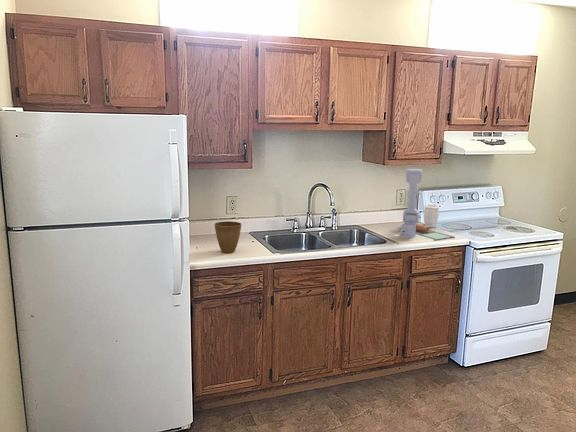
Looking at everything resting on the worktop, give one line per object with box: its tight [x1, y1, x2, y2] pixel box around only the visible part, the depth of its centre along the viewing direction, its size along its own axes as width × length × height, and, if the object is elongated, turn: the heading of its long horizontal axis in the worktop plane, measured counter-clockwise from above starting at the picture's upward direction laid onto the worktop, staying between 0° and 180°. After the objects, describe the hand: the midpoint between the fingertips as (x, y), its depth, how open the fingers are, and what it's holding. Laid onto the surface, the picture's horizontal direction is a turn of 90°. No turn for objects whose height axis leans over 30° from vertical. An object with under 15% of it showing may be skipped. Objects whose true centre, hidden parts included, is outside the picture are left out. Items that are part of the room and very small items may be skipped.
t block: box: [416, 222, 431, 233], centre depth 328 cm, size 12×12×4 cm
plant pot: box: [214, 220, 242, 254], centre depth 269 cm, size 15×15×16 cm
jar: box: [423, 204, 440, 228], centre depth 345 cm, size 11×10×15 cm
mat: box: [415, 229, 455, 242], centre depth 322 cm, size 18×30×1 cm, turn 31°
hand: (411, 226), depth 335 cm, fingers closed
